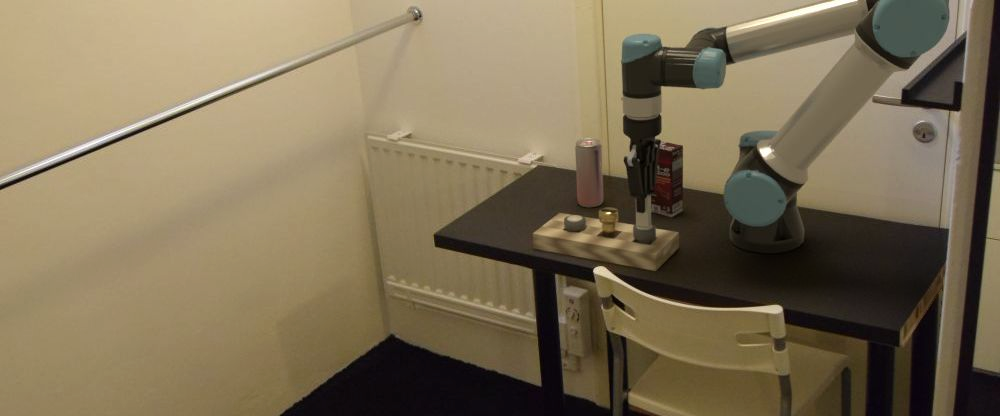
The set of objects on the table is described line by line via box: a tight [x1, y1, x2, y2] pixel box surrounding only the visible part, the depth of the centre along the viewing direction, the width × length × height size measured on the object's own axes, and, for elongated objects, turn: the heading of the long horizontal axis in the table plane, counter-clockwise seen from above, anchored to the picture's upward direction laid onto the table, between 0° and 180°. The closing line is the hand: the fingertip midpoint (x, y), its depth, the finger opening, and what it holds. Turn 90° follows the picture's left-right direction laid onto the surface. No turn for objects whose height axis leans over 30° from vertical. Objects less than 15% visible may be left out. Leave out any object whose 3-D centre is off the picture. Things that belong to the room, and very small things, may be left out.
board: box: [532, 212, 680, 272], centre depth 222 cm, size 28×12×4 cm, turn 59°
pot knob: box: [598, 207, 620, 237], centre depth 220 cm, size 4×4×6 cm
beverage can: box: [574, 137, 604, 209], centre depth 243 cm, size 6×6×15 cm
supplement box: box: [650, 140, 684, 218], centre depth 236 cm, size 9×5×16 cm, turn 46°
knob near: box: [633, 222, 657, 245], centre depth 217 cm, size 5×5×6 cm
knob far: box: [564, 214, 586, 233], centre depth 225 cm, size 5×5×6 cm
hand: (643, 224), depth 215 cm, fingers closed
